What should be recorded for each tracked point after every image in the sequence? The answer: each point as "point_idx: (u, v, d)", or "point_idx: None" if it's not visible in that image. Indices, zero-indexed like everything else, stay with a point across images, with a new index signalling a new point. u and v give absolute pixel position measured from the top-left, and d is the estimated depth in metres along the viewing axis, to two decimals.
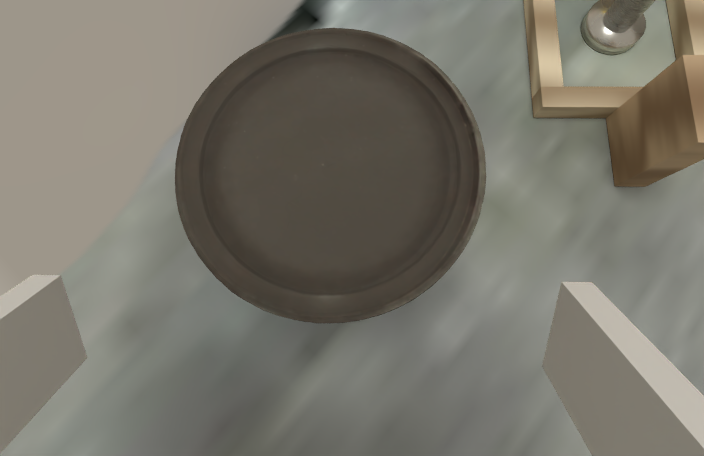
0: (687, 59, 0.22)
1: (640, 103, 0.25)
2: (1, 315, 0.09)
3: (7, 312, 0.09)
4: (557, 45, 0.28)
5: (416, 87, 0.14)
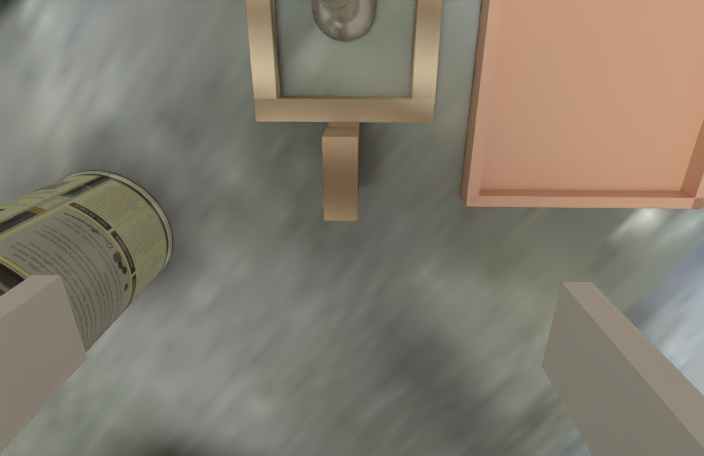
0: (325, 141, 0.23)
1: None
2: (1, 315, 0.09)
3: (7, 312, 0.09)
4: (271, 46, 0.26)
5: None
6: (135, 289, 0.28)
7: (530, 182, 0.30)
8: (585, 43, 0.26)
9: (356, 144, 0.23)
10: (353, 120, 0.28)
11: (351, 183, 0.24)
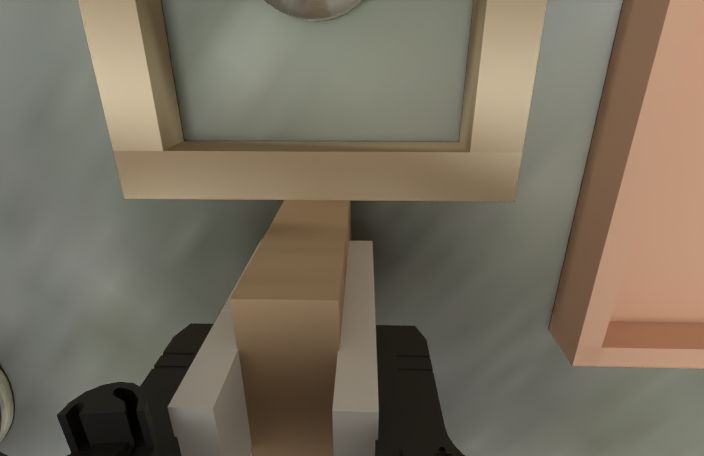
0: (241, 310, 0.08)
1: None
2: None
3: None
4: (136, 33, 0.11)
5: None
6: None
7: (698, 309, 0.15)
8: None
9: (334, 318, 0.08)
10: (337, 197, 0.12)
11: (323, 408, 0.09)
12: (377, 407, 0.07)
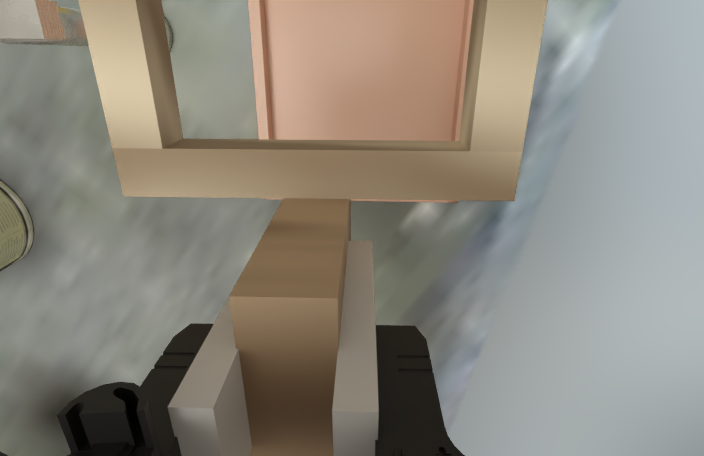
0: (240, 307, 0.08)
1: None
2: None
3: None
4: (136, 30, 0.11)
5: None
6: None
7: None
8: (344, 66, 0.32)
9: (333, 316, 0.08)
10: (336, 195, 0.12)
11: (322, 406, 0.09)
12: (377, 407, 0.07)
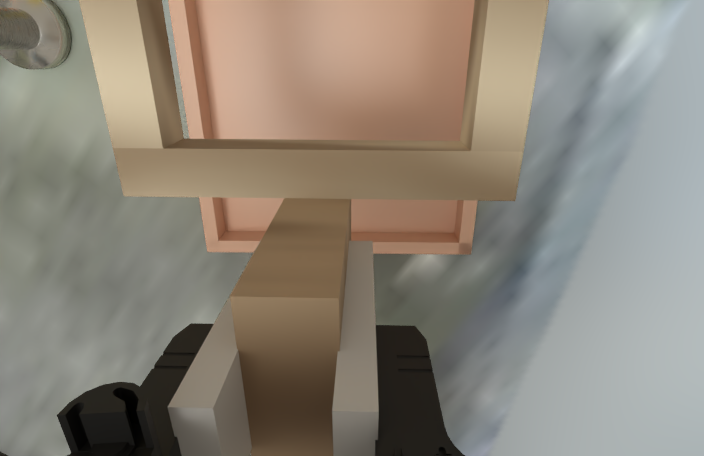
0: (241, 307, 0.08)
1: None
2: None
3: None
4: (136, 29, 0.11)
5: None
6: None
7: None
8: (310, 71, 0.23)
9: (335, 316, 0.08)
10: (337, 195, 0.12)
11: (323, 407, 0.09)
12: (377, 407, 0.07)
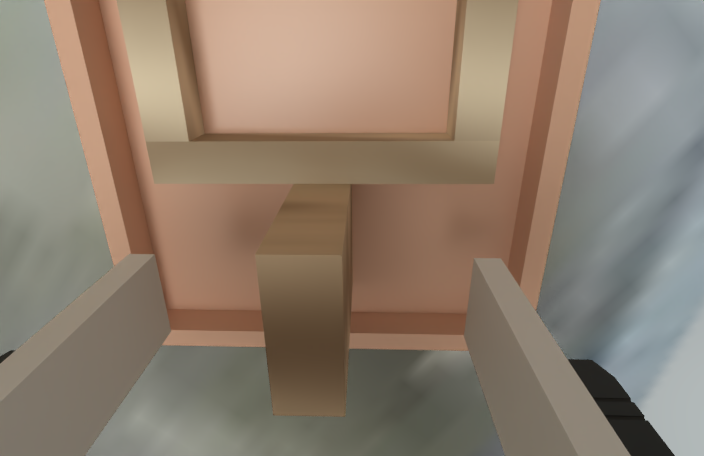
0: (263, 264, 0.09)
1: None
2: (116, 286, 0.10)
3: (121, 284, 0.10)
4: (168, 40, 0.13)
5: None
6: None
7: (253, 299, 0.18)
8: (282, 77, 0.14)
9: (339, 270, 0.10)
10: (339, 181, 0.14)
11: (329, 348, 0.10)
12: None
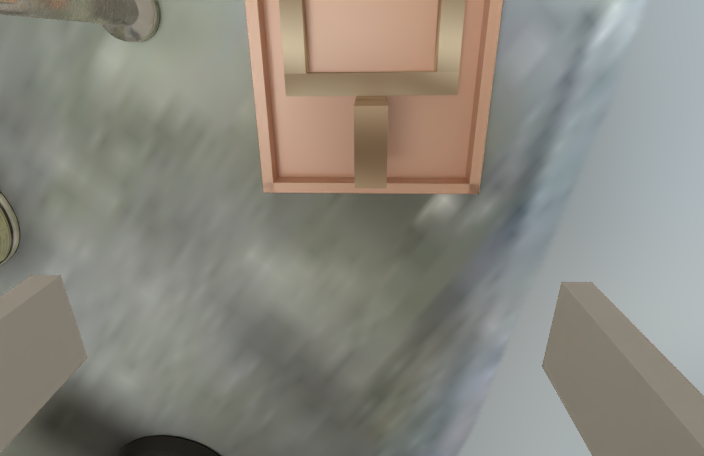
0: (356, 110, 0.24)
1: None
2: (1, 315, 0.09)
3: (7, 312, 0.09)
4: (301, 22, 0.27)
5: None
6: None
7: (327, 170, 0.33)
8: (350, 41, 0.29)
9: (386, 113, 0.24)
10: (379, 94, 0.29)
11: (381, 151, 0.25)
12: None
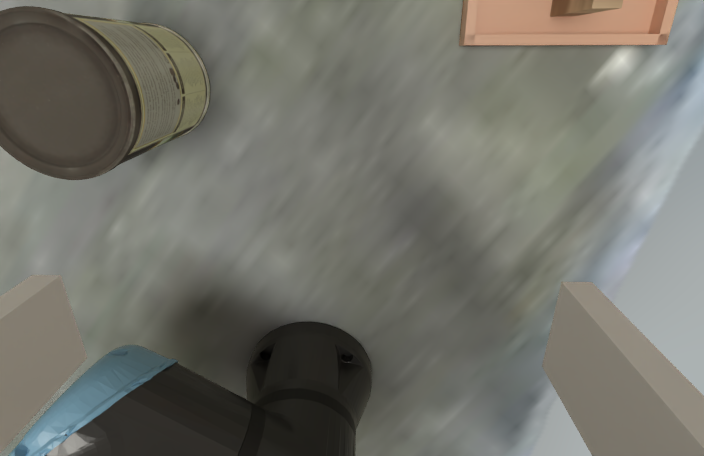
0: None
1: None
2: (1, 315, 0.09)
3: (7, 312, 0.09)
4: None
5: (87, 50, 0.24)
6: (183, 112, 0.34)
7: (519, 27, 0.35)
8: None
9: None
10: None
11: None
12: None
